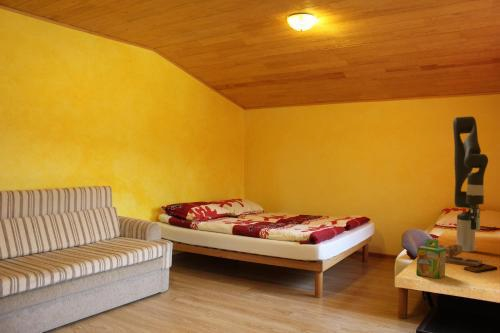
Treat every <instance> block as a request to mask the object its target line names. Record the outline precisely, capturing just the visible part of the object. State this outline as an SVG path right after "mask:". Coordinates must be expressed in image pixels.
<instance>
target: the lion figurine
mask: <svg viewBox="0 0 500 333" xmlns="http://www.w3.org/2000/svg"><path fill="white" fill-rule="evenodd" d="M438 247H442V248H445V249H446V255H448V259H452V257H453V256H455V257H457V256H458V255H461V254H462V252H463V251H462V246H461V245H459V244H457V243H456V244H453V245H449V246H446V245H445V244H443V243H438Z"/></svg>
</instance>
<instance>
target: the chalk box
mask: <svg viewBox="0 0 500 333" xmlns="http://www.w3.org/2000/svg"><path fill="white" fill-rule="evenodd" d="M431 243H434V245H431ZM438 244H439V240H438V239H433V238H432V239H431V238H427V239H426V242H425V244H424V245H421V246H419V247H417V253H416V254H417V255H416V275H417V276H420V277H421V276H422V277H426V278H432V279H437V280H439V279H440V278H442V277H445V275H446V263H445V260H446V255H447V254H446V249H445V248H442V247H438Z"/></svg>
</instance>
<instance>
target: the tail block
mask: <svg viewBox="0 0 500 333" xmlns="http://www.w3.org/2000/svg"><path fill="white" fill-rule="evenodd" d="M472 218H474V217H472ZM476 220H477V221H476V230H475V231H480V230H481V217H480V218H478V217H477V218H476ZM469 230H472V229H471V222H470V220H469Z"/></svg>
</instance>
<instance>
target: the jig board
mask: <svg viewBox="0 0 500 333" xmlns="http://www.w3.org/2000/svg"><path fill="white" fill-rule="evenodd" d="M446 263H447V264H454V265H460V266H466V267H472V266H477V265H479V266H480V265H482V264H483V260H482V259H476V258H469V257H464V256H463V257H461V256H453V257H452V259H448V254H446V260H445V264H446ZM477 267H478V266H477Z"/></svg>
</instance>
